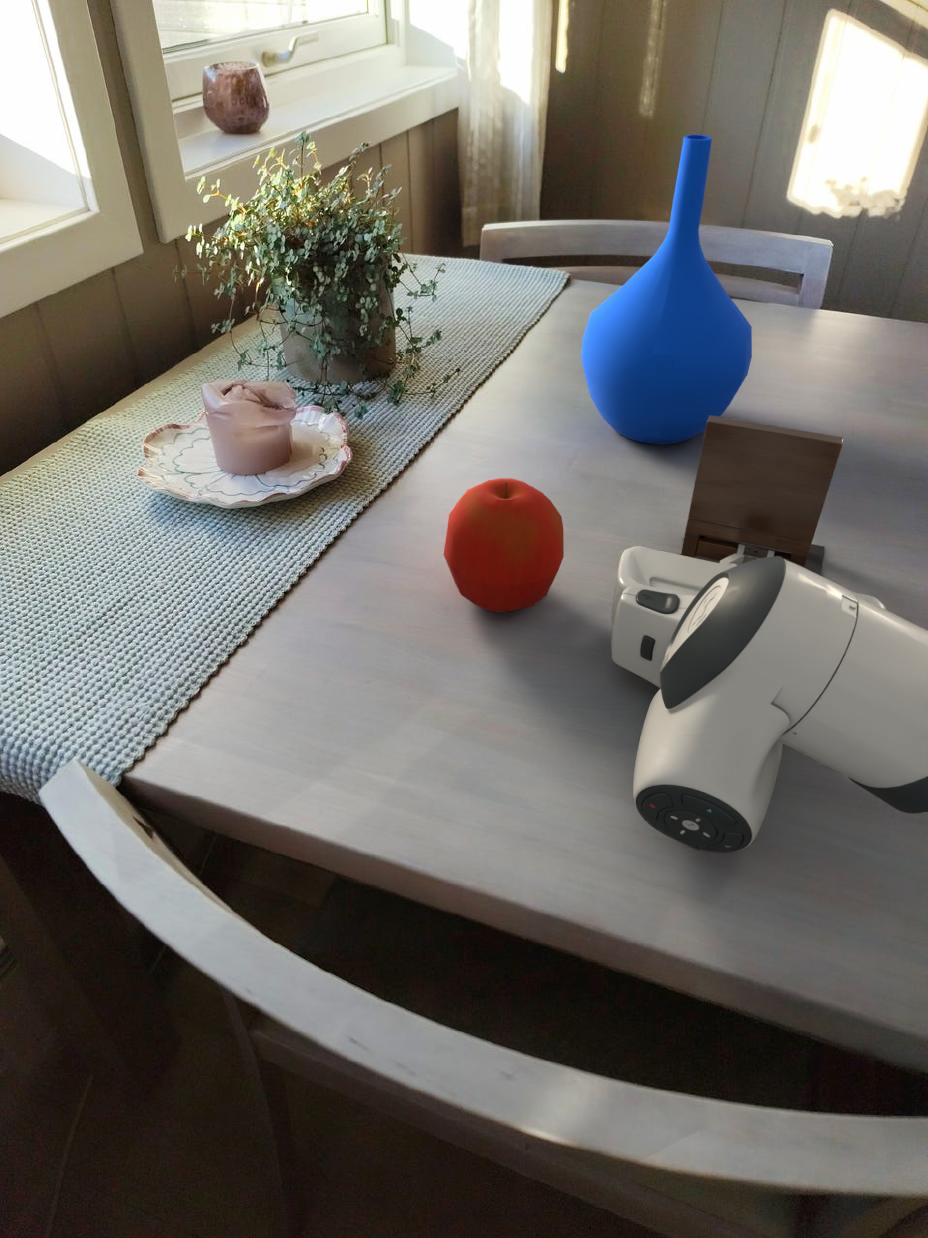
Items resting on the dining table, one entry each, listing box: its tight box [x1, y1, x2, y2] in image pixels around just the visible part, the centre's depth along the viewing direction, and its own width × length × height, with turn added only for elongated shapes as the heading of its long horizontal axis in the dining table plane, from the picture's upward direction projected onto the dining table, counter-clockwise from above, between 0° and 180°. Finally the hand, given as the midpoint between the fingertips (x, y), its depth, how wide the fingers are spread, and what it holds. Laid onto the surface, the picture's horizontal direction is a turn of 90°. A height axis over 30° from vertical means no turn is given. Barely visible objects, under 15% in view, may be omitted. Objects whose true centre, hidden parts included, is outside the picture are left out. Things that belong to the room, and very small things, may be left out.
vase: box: [580, 134, 753, 445], centre depth 91 cm, size 18×18×30 cm
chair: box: [680, 415, 844, 567], centre depth 74 cm, size 10×10×16 cm
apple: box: [443, 477, 565, 613], centre depth 73 cm, size 10×10×12 cm
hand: (755, 554), depth 73 cm, fingers closed
